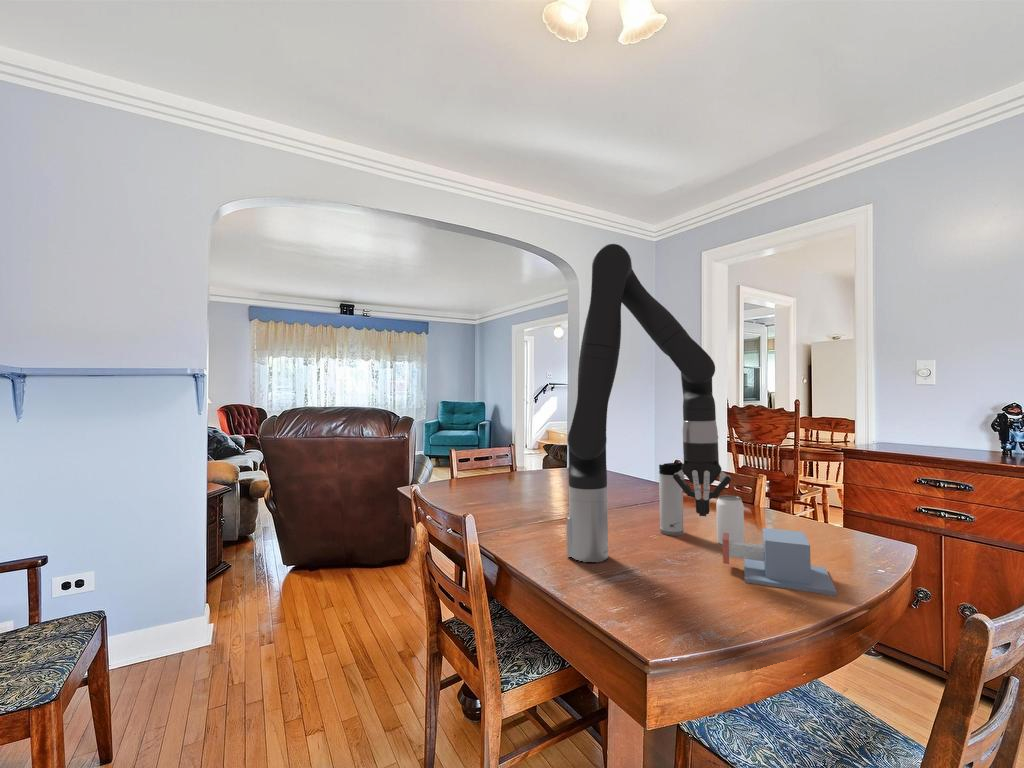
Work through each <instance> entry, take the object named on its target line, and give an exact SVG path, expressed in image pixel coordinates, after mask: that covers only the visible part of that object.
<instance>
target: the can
mask: <svg viewBox="0 0 1024 768" xmlns="http://www.w3.org/2000/svg"><path fill="white" fill-rule="evenodd" d="M717 498H718V499H717V501H716V505H715V506H716V507H715V508H716V536H717V537H716V541H717V543H718V544H719V545H721V546H723V533H727V534H729V541H738V542H745V511H744V509H745V508H744V503H743V501H742V498H741V497H740V496H737V495H736V496H735V495H730V494H729V495H724V494H722V495H718V496H717Z"/></svg>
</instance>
